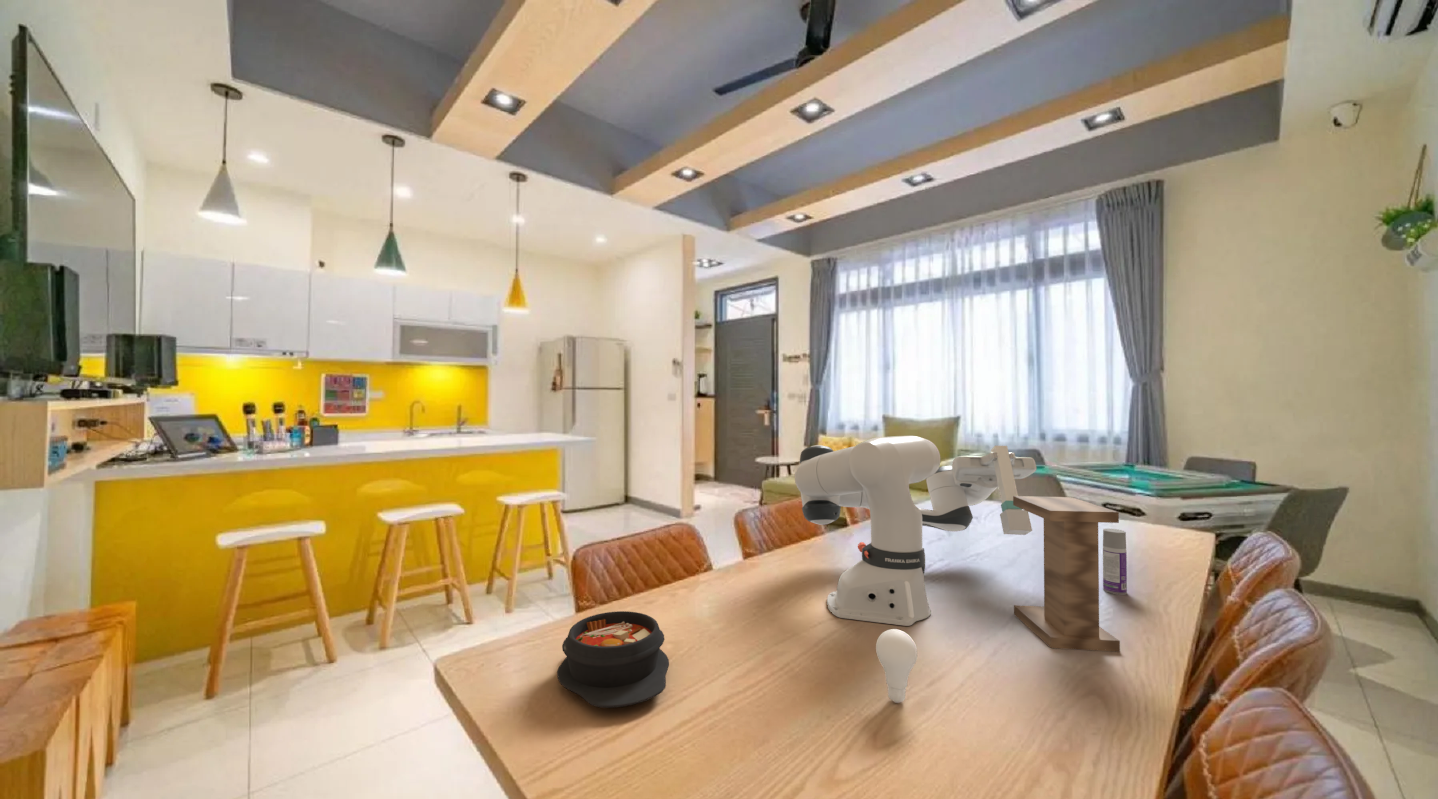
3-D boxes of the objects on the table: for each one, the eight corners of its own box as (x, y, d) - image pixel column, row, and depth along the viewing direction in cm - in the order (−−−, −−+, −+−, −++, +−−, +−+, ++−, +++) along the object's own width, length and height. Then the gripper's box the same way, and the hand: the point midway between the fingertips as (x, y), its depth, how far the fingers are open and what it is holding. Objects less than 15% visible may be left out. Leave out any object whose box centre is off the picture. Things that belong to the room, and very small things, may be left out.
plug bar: (1003, 534, 128) (1010, 529, 125) (986, 450, 139) (992, 443, 136) (1025, 534, 128) (1032, 530, 124) (1006, 450, 139) (1012, 444, 135)
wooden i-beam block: (1051, 648, 99) (1050, 510, 99) (1014, 614, 115) (1013, 496, 115) (1119, 651, 97) (1118, 512, 98) (1072, 616, 113) (1071, 497, 114)
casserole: (548, 656, 96) (548, 610, 96) (645, 637, 104) (645, 595, 104) (569, 733, 73) (569, 673, 73) (692, 702, 81) (692, 648, 81)
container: (1118, 588, 131) (1118, 528, 131) (1131, 595, 126) (1131, 533, 126) (1098, 587, 131) (1098, 528, 132) (1110, 594, 127) (1110, 532, 127)
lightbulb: (919, 696, 82) (918, 626, 83) (916, 717, 77) (915, 642, 77) (879, 687, 85) (878, 619, 85) (873, 707, 79) (873, 634, 80)
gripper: (1026, 486, 144) (1049, 467, 132) (949, 484, 146) (964, 465, 134) (1021, 465, 147) (1043, 444, 135) (946, 464, 149) (960, 443, 138)
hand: (1003, 455), depth 135 cm, fingers closed on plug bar, 3 cm apart
